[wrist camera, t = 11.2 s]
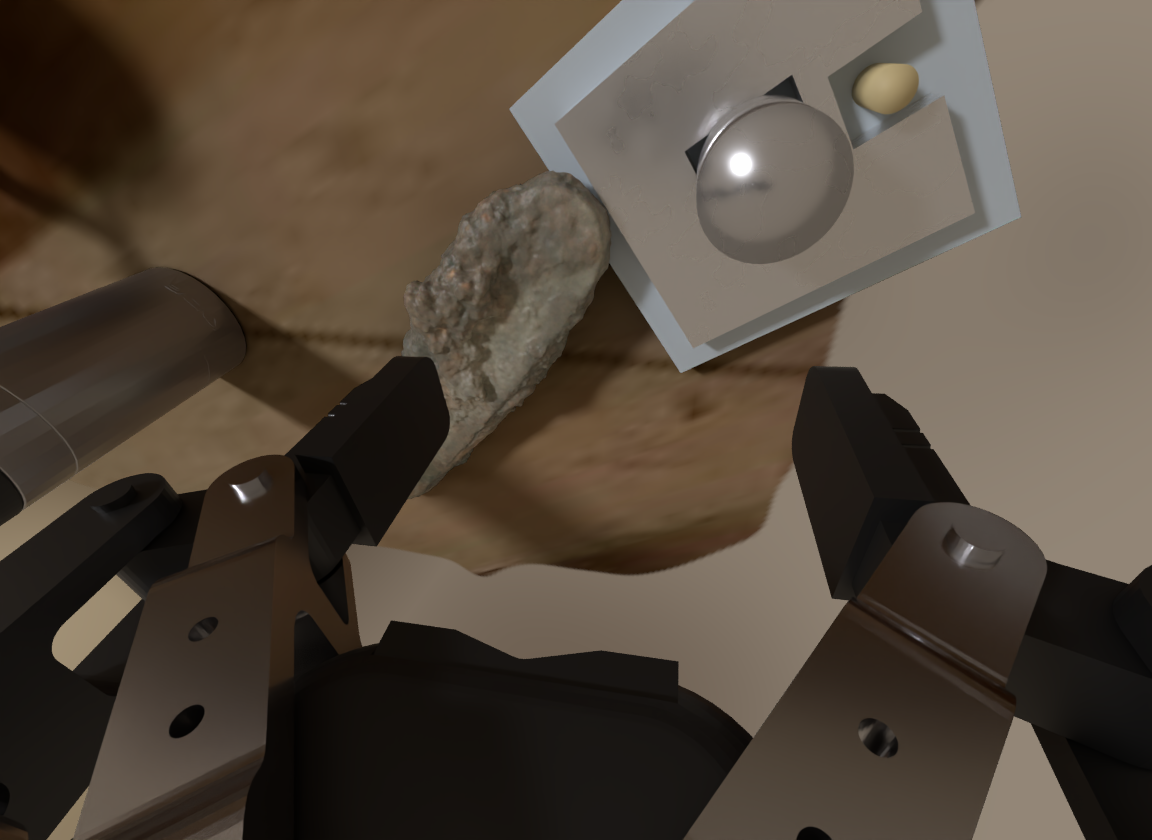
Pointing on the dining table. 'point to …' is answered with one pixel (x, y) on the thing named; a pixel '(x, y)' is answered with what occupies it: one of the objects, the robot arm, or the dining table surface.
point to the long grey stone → (505, 303)
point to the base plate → (861, 88)
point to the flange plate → (707, 85)
